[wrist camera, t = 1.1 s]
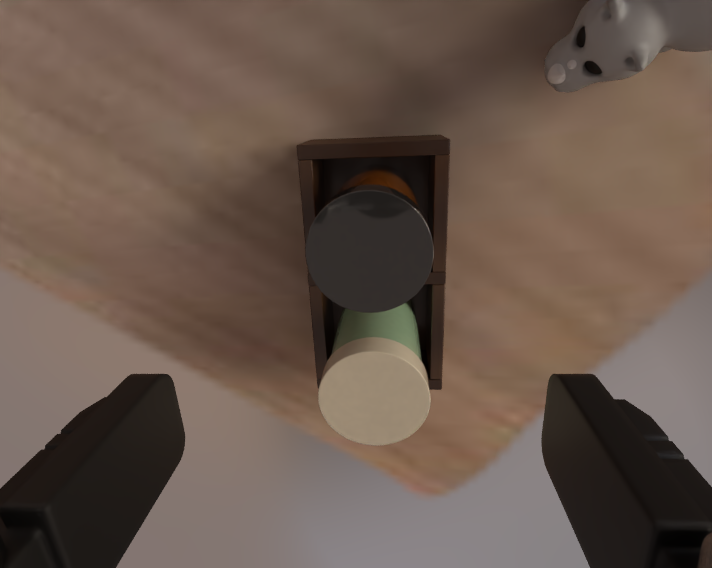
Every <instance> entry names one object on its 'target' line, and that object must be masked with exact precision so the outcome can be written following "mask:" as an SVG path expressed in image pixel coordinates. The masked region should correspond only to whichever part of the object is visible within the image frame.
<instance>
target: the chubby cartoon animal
mask: <svg viewBox="0 0 712 568" xmlns="http://www.w3.org/2000/svg"><path fill="white" fill-rule="evenodd" d="M670 49H675V50H680V51H690V52H698V51H709V50H712V0H589V1H588V2H587V3H586V4H585V5H584V7H583V8H582V9H581V11H580V13H579V15H578V17H577V19H576V22H575V24H574V26H573V28H572V30H571V32H570V33H569V34H568V35H567V36H565V37H564V38H562V39H561V40H559V41H558V42H557V43H556V44H554V46H553V47H552V48H551V49H550V51H549V52H548V54H547V57H546V59H545V60H544V61H545V78H546V80H547V82H548V83H549V84H550V85H551V86H552V87H554V88H555V90H557V91H559V92H574V91H577V90H580V89H582V88H584V87H586V86H588V85H590V84H593V83H597V82H604V81H613V80H620V79H625V78H628V77H631V76H633V75H635V74H637V73H638V72H640V71H642V70H644V68H645V67H647V66H648V65H649V64H650V63H651V62H652V61H653V59H654V58H655V57H656V55H657V54H658V53H660V52H665V51H668V50H670Z"/></svg>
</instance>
